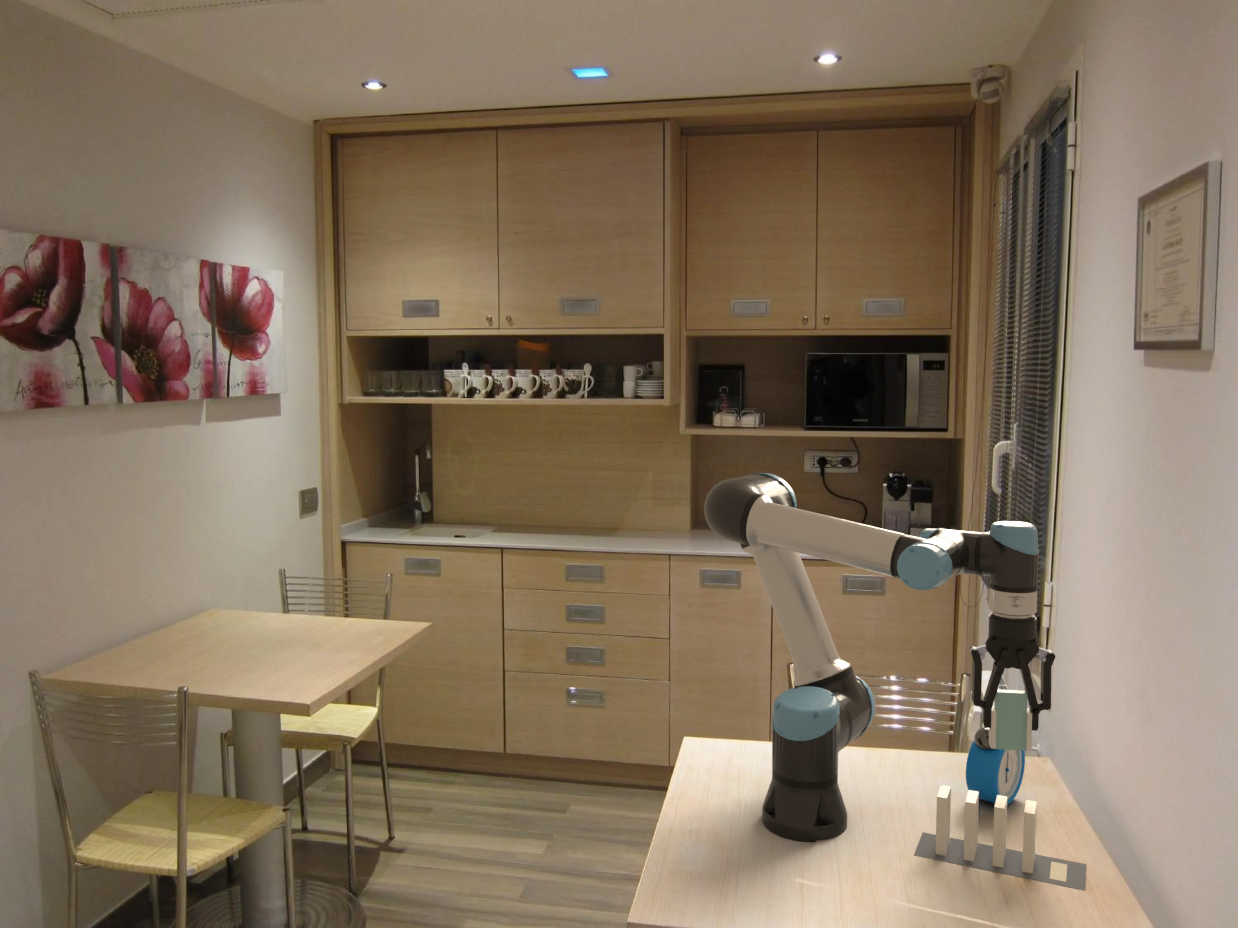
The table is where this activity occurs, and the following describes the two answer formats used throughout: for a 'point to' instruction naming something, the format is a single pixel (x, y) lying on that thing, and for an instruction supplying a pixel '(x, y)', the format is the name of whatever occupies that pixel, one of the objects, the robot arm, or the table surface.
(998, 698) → the domino
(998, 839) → the domino
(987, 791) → the alarm clock
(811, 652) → the robot arm
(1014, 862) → the mat
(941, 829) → the domino
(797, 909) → the table surface
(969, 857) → the domino
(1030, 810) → the domino
